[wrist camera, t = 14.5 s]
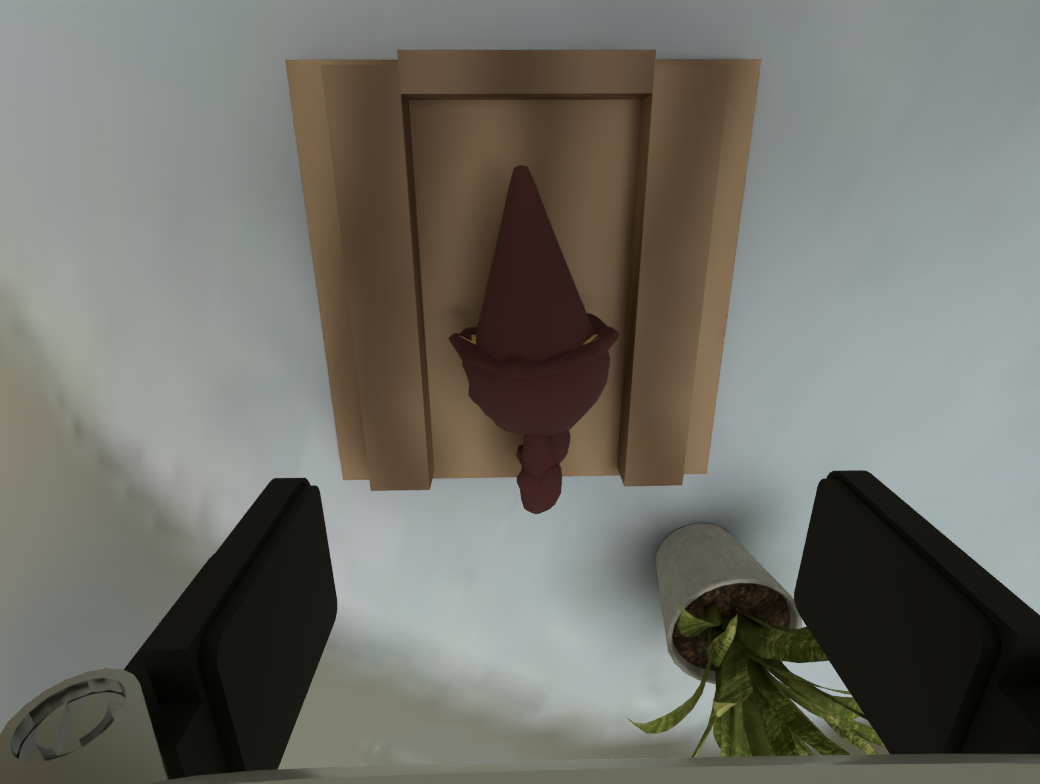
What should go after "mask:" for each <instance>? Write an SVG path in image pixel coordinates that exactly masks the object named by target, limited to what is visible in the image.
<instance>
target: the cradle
mask: <svg viewBox="0 0 1040 784" xmlns="http://www.w3.org/2000/svg"><path fill="white" fill-rule="evenodd" d="M655 55H656V50H398V60H286V68H287V75H288V82H289V90H290V97H291V104H292V111H293V119H294V126H295V133H296V141H297V148H298V155H299V163H300V170H301V177H302V184H303V192H304V199H305V206H306V214H307V221H308V228H309V235H310V243H311V250H312V257H313V265H314V272H315V279H316V286H317V294H318V301H319V308H320V316H321V323H322V330H323V337H324V345H325V352H326V359H327V367H328V374H329V381H330V388H331V396H332V403H333V410H334V418H335V425H336V432H337V440H338V447H339V454H340V461H341V469H342V476H343V480H370V488H371V491H384V490H430V487H431V482H432V478H487V477H517V476H518V475H519V473H520V472H521V469H522V465H521V464H520V462H519V460H518V459H517V457H516V454H517V450H518V446H519V445H523V442H524V435H519V434H516V433H512V432H507V431H505V430H503V429H501V428H500V427H498V426H496V424H495V423H494V421H493V420H492V419H490V418H489V417H488V416H486V415H485V414H484V412H483V411H482V410H481V408H480V407H479V406H478V405H477V404H475V403H474V402H473V401H472V400H471V398H470V397H469V396H468V390H469V382H468V379H467V375H466V373H465V370H464V368H463V366H462V360H461V358H460V356H459V354H458V353H457V351H456V350H455V348H454V347H453V346H452V344H451V343H450V341H449V339H448V338H449V337H450V336H451V335H452V334H453V333H459V334H460V333H461V332H462V331H463V330H464V329H465V328H469V327H478V322H479V318H480V313H481V309H482V304H483V300H484V296H485V291H486V287H487V282H488V278H489V274H490V269H491V265H492V260H493V256H494V251H495V247H496V243H497V238H498V234H499V229H500V225H501V220H502V216H503V211H504V207H505V202H506V197H507V193H508V188H509V184H510V180H511V176H512V172H513V169H514V167H517V166H519V165H523V166H528V168H529V170H530V173H531V175H532V177H533V180H534V182H535V184H536V187H537V189H538V192H539V195H540V197H541V200H542V202H543V205H544V208H545V210H546V213H547V215H548V218H549V221H550V223H551V226H552V228H553V231H554V233H555V236H556V238H557V241H558V243H559V246H560V248H561V251H562V253H563V256H564V258H565V261H566V263H567V266H568V268H569V271H570V273H571V276H572V278H573V280H574V283H575V285H576V288H577V290H578V293H579V295H580V298H581V300H582V303H583V305H584V308H585V310H586V313H590V314H593V315H595V316H597V317H598V318H599V319H601V320H602V321H603V322H604V323H605V324H606V325H607V326H608V327H612V328H614V329H615V330H617V331H618V332H619V334H620V335H619V339H618V340H617V341H616V342H615V343H614V344H613V346H612V347H611V348H610V349H609V350H608V352H609V355H610V366H609V373H608V380H607V383H606V385H605V387H604V389H603V391H602V393H601V395H600V397H599V399H598V400H597V402H596V403H595V404H594V405H593V406H592V407H591V408H590V410H589V411H588V412H587V413H586V414H585V415H584V416H583V417H582V418H581V419H580V420H579V421H578V422H577V423H576V424H575V425H574V426H573V427H572V428H571V429H569V432H570V437H571V438H570V444H569V449H568V454H567V455H566V457H565V458H564V460H563V461H562V462H561V463H560V464H559V465H560V466H561V471H562V476H603V475H620V476H621V479H622V481H623V484H624V486H666V485H682V482H683V474H706V473H707V466H708V458H709V451H710V443H711V435H712V428H713V420H714V413H715V405H716V398H717V390H718V383H719V375H720V367H721V360H722V352H723V345H724V337H725V330H726V322H727V314H728V307H729V299H730V292H731V284H732V277H733V269H734V262H735V254H736V246H737V239H738V231H739V224H740V216H741V209H742V201H743V193H744V186H745V178H746V171H747V163H748V156H749V148H750V141H751V133H752V125H753V118H754V110H755V103H756V95H757V88H758V80H759V73H760V65H761V59H738V60H655Z"/></svg>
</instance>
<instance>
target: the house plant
mask: <svg viewBox="0 0 1040 784" xmlns="http://www.w3.org/2000/svg"><path fill="white" fill-rule="evenodd" d="M655 563H656V570H657V576H658V583H659V590H660V597H661V604H662V611H663V618H664V625H665V632H666V639H667V646H668V652H669V654H670V656H671V657H672V659H673V661H674V663H675V664H676V665H677V666H678V667H679V668H680V669H681V670H682V671H683V672H685V673H686V674H688V675H690V676H692V677H694V678H696V679H698V680H701V684H700V686H699V687H698V689H697V690H696V692H695V693H694V695H693V696H692V697H691V698H690V699H689V700H687V701H686V702H685V703H684V704H683V705H681V706H680V707H678V708H677V709H675V710H674V711H672V712H670V713H669V714H667V715H665V716H663V717H661V718H658V719H656V720H654V721H651V722H649V723H646V724H642V723H633V722H632V721H631V720H630V721H631V722H632V723H633V724H634V725H635V726H637V727H638V728H640V729H641V730H643V731H644V732H646V733H661V732H665V731H667V730H669V729H671V728H672V727H674V726H675V725H677V724H678V723H679V722H680V721H681V720H682V719H683V718H684V717H685V716H686V715H687V714H688V713H689V712H690V711H691V710H692V709H693V708H694V706H695V705H696V703H697V701H698V700H699V698H700V696H701V695H702V693H703V689H704V686H705V683H706V682H709V683H713V684H716V692H715V697H714V699H713V707H712V712H711V716H710V719H709V723H708V726H707V728H706V730H705V732H704V734H703V736H702V738H701V740H700V742H699V744H698V746H697V748H696V750H695V752H694V754H693V756H692V758H696V756H697V754H698V752H699V750H700V748H701V746H702V745H703V743H704V741H705V739H706V738H707V736H708V734H709V732H710V730H711V728H712V726H713V724H714V728H713V733H714V737H715V740H716V742H717V744H718V746H719V747H720V749H721V756H720V757H749V756H800V755H799V752H800V754H801V755H802V756H813V755H814V754H813V753H812V752H811V750H810V749H809V748H808V746H807V745H806V744H805V742H806V743H807V744H809V745H810V746H812V747H813V748H815V749H816V750H817V751H819V752H820V754H821V755H851V754H849V753H848V752H847V751H845V750H844V749H842V748H841V747H840V746H838V745H837V744H835V743H834V742H833V741H831V740H830V739H828V738H827V737H826V736H825V735H824V734H823V733H822V732H821V731H820V730H819V729H818V728H817V727H816V726H815V725H814V724H813V723H812V722H811V721H810V720H809V718H808V717H807V716H806V715H805V714H804V713H803V712H802V711H801V710H800V709H799V708H798V707H797V706H796V705H795V704H794V703H793V702H792V701H791V700H790V699H792V700H793V701H794V702H796V703H797V704H799V705H800V706H802V707H803V708H805V709H806V710H808V711H809V712H811V713H813V714H815V715H817V716H819V717H821V718H822V719H824V720H825V721H826V722H827V723H828V724H829V725H830V726H831V728H832V729H833V730H834V731H835V732H836V733H837V734H838V735H839V736H840V737H841V738H843V739H844V740H846V741H847V742H849V743H851V744H852V745H854V746H856V747H858V748H860V749H861V750H863V751H864V752H866V753H868V754H869V755H879V754H878V753H877V752H876V751H875V750H874V749H873V748H872V747H871V746H870V745H869V744H868V743H867V742H866V741H865V740H868V741H870V742H873V743H875V744H878V745H881V746H884V744H883V743H882V741H881V739H880V738H879V736H878V735H877V733H876V732H875V730H874V729H873V728H870V727H868V726H866V725H863V724H861V723H859V722H856V721H854V720H853V719H855V718H857V717H859V716H861V717H863V718H865V719H866V720H868V719H867V718H866V716H865V715H864V714H863V712H862V710H861V709H860V707H859V706H858V704H857V703H856V701H855V700H854V698H853V697H839V696H831V695H829V694H827V693H825V692H823V691H821V690H819V689H817V688H816V687H821V686H818V685H816V684H813V683H811V682H809V681H807V680H805V679H803V678H801V677H799V676H797V675H795V674H793V673H791V672H790V671H789V670H788V669H787V668H786V667H785V665H784V664H783V663H782V662H783V661H788V662H796V663H805V662H818V661H829V660H828V658H827V657H826V655H825V653H824V652H823V650H822V649H821V647H820V646H819V644H818V643H817V641H816V640H815V638H814V637H813V635H812V634H811V632H810V630H809V629H808V627H804V628H802V619H801V617H800V615H799V613H798V611H797V609H796V606H795V601H794V599H793V598H792V596H791V595H790V594H789V593H788V592H787V591H786V590H785V589H784V588H783V587H782V586H781V585H780V584H779V583H778V582H777V581H776V580H775V579H774V578H773V577H772V576H771V575H770V574H769V573H768V572H767V571H766V570H765V569H764V568H763V567H762V566H761V565H760V564H759V563H758V562H757V561H756V560H755V559H754V558H753V557H752V556H751V555H750V554H749V552H748V551H747V550H746V549H745V548H744V547H743V546H742V545H741V544H740V543H739V542H738V541H737V540H736V539H735V538H734V537H733V536H732V535H731V534H730V533H729V532H728V531H726V530H725V529H723V528H721V527H720V526H716V525H713V524H708V523H696V524H691V525H687V526H684V527H682V528H679V529H677V530H676V531H674V532H673V533H671V534H670V535H669V536H667V538H666V539H665V540H664V541H663V542H662V543H661V545H660V547H659V549H658V551H657V554H656V560H655ZM769 672H770V673H771V674H773V675H774V676H775V677H776V678H777V679H779V680H780V681H781V682H782V683H784V684H785V685H786V686H785V685H784V684H782V683H781V682H780V681H778V680H777V679H776V678H774V677H773V676H772V675H771V674H770V673H769ZM814 686H816V687H814ZM788 687H789V688H788ZM821 688H824V687H821ZM791 689H792V690H791ZM825 689H828V688H825ZM828 690H832V691H836V692H840V693H844V694H851V693H850V692H849V691H841V690H833V689H828ZM864 739H865V740H864ZM803 740H804V741H805V742H804V741H803ZM884 747H885V746H884ZM798 751H799V752H798Z"/></svg>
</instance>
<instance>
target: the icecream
mask: <svg viewBox="0 0 1040 784" xmlns="http://www.w3.org/2000/svg"><path fill="white" fill-rule="evenodd" d="M619 335H620V334H619V332H618V331H617V330H615V329H614V328H612V327H608V326H607V325H606V324H605V323H604V322H603V321H602V320H601V319H599V318H598V317H597V316H595V315H593V314H590V313H586V310H585V308H584V305H583V303H582V300H581V298H580V295H579V293H578V290H577V288H576V285H575V283H574V280H573V278H572V276H571V273H570V271H569V268H568V266H567V263H566V261H565V258H564V256H563V253H562V251H561V248H560V246H559V243H558V241H557V238H556V236H555V233H554V231H553V228H552V226H551V223H550V221H549V218H548V215H547V213H546V210H545V208H544V205H543V202H542V200H541V197H540V195H539V192H538V189H537V187H536V184H535V182H534V180H533V177H532V175H531V173H530V170H529V168H528V166H523V165H519V166H517V167H514V169H513V172H512V176H511V180H510V184H509V188H508V193H507V197H506V202H505V207H504V211H503V216H502V220H501V225H500V229H499V234H498V238H497V243H496V247H495V251H494V256H493V260H492V265H491V269H490V274H489V278H488V282H487V287H486V291H485V296H484V300H483V304H482V309H481V313H480V318H479V322H478V327H469V328H465V329H464V330H463V331H462V332H461V333H460V334H459V333H453V334H452V335H451V336H450V337H449V338H448V339H449V341H450V343H451V344H452V346H453V347H454V348H455V350H456V351H457V353H458V354H459V356H460V358H461V360H462V366H463V368H464V370H465V373H466V375H467V379H468V382H469V390H468V396H469V397H470V398H471V400H472V401H473V402H474V403H475V404H477V405H478V406H479V407H480V408H481V410H482V411H483V412H484V414H485V415H486V416H488V417H489V418H490V419H492V420H493V421H494V423H495V424H496V426H498V427H500V428H501V429H503V430H505V431H507V432H512V433H516V434H519V435H524V442H523V445H519V446H518V450H517V454H516V457H517V459H518V460H519V462H520V464H521V465H522V469H521V472H520V473H519V475H518V476H517V484H518V486H519V488H520V493H521V500H522V503H523V506H524V509H526V510H527V511H529V512H531V513H534V514H540V513H542V512H544V511H547V510H549V509H550V508H552V507H553V506H554V505H555V503H556V502H557V500H558V498H559V496H560V494H561V485H562V471H561V466H560V465H559V464H560V463H561V462H562V461H563V460H564V458H565V457H566V455H567V454H568V449H569V444H570V438H571V437H570V432H569V429H571V428H572V427H573V426H574V425H575V424H576V423H577V422H578V421H579V420H580V419H581V418H582V417H583V416H584V415H585V414H586V413H587V412H588V411H589V410H590V408H591V407H592V406H593V405H594V404H595V403H596V402H597V400H598V399H599V397H600V395H601V393H602V391H603V389H604V387H605V385H606V383H607V380H608V373H609V366H610V355H609V352H608V350H609V349H610V348H611V347H612V346H613V344H614V343H615V342H616V341H617V340H618V339H619Z"/></svg>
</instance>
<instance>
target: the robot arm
mask: <svg viewBox="0 0 1040 784" xmlns="http://www.w3.org/2000/svg"><path fill="white" fill-rule="evenodd" d="M794 601H795V606H796V609H797V611H798V613H799V615H800V617H801V618H802V620H803V621H804V623H805V624H806V626H807V627H808V629H809V630H810V632H811V634H812V635H813V637H814V638H815V640H816V641H817V643H818V644H819V646H820V647H821V649H822V650H823V652H824V653H825V655H826V657H827V658H828V660H829V661H830V663H831V664H832V666H833V667H834V669H835V670H836V672H837V673H838V675H839V677H840V678H841V680H842V681H843V683H844V684H845V686H846V687H847V689H848V690H849V692H850V693H851V695H852V696H853V698H854V700H855V701H856V703H857V704H858V706H859V707H860V709H861V710H862V712H863V713H864V715H865V716H866V718H867V719H868V721H869V723H870V724H871V726H872V727H873V729H874V730H875V732H876V733H877V735H878V736H879V738H880V739H881V741H882V743H883V744H884V746H885V747H886V749H887V750H888V752H889V753H890V754H885V755H883V754H881V755H813V756H749V757H699V758H649V759H606V760H604V759H603V760H557V761H518V762H481V763H444V764H407V765H370V766H348V767H326V768H303V769H281V770H278V767H279V764H280V762H281V759H282V757H283V754H284V751H285V749H286V746H287V744H288V741H289V739H290V736H291V733H292V731H293V728H294V725H295V723H296V720H297V718H298V715H299V713H300V710H301V707H302V705H303V702H304V699H305V697H306V694H307V692H308V689H309V687H310V684H311V682H312V679H313V676H314V674H315V671H316V669H317V666H318V664H319V661H320V658H321V656H322V653H323V651H324V648H325V645H326V643H327V640H328V638H329V635H330V632H331V630H332V627H333V625H334V622H335V619H336V614H337V597H336V590H335V584H334V578H333V571H332V565H331V559H330V552H329V546H328V540H327V533H326V527H325V521H324V514H323V508H322V502H321V496H320V491H319V488H318V487H317V486H310V483H309V481H308V480H307V479H306V478H275V479H272V480H271V481H270V482H269V484H268V485H267V486H266V488H265V489H264V490H263V492H262V493H261V494H260V495H259V497H258V498H257V499H256V501H255V502H254V503H253V505H252V506H251V507H250V509H249V510H248V511H247V512H246V514H245V515H244V516H243V518H242V519H241V520H240V522H239V523H238V524H237V525H236V527H235V528H234V529H233V531H232V532H231V533H230V535H229V536H228V537H227V539H226V540H225V541H224V542H223V544H222V545H221V546H220V548H219V549H218V550H217V552H216V553H215V554H214V555H213V556H212V557H211V558H209V560H208V561H207V562H206V564H205V565H204V566H203V567H202V569H201V570H200V571H199V573H198V574H197V575H196V577H195V578H194V579H193V581H192V582H191V583H190V584H189V586H188V587H187V588H186V590H185V591H184V592H183V593H182V595H181V596H180V597H179V599H178V600H177V601H176V603H175V604H174V605H173V606H172V608H171V609H170V610H169V612H168V613H167V615H165V617H164V618H163V619H162V621H161V622H160V623H159V625H158V626H157V627H156V628H155V630H154V631H153V632H152V634H151V635H150V636H149V638H148V639H147V640H146V641H145V643H144V644H143V645H142V647H141V648H140V649H139V651H138V652H137V653H136V654H135V656H134V657H133V658H132V660H131V661H130V662H129V664H128V665H127V666H126V668H125V669H124V670H122V669H108V668H106V669H100V670H95V671H89V672H85V673H82V674H80V675H77V676H74V677H72V678H69V679H66V680H64V681H62V682H60V683H58V684H57V685H55V686H53V687H51V688H49V689H47V690H45V691H44V692H42V693H41V694H40V695H38V696H37V697H35V698H34V699H33V700H32V701H30V702H29V703H27V704H26V705H25V706H23V708H21V709H20V711H18V712H17V714H15V715H14V717H12V718H11V720H9V721H8V723H7V724H6V726H5V727H4V729H3V730H2V732H1V733H0V784H1040V615H1039V614H1037V613H1036V612H1035V611H1034V610H1033V609H1031V608H1030V607H1029V606H1028V605H1027V604H1026V603H1024V602H1023V601H1022V600H1021V599H1020V598H1018V597H1017V596H1016V595H1015V594H1014V593H1012V592H1011V591H1010V590H1009V589H1008V588H1006V587H1005V586H1004V585H1003V584H1002V583H1001V582H999V581H998V580H997V579H996V578H995V577H993V576H992V575H991V574H990V573H989V572H987V571H986V570H985V569H984V568H983V567H981V566H980V565H979V564H978V563H977V562H976V561H974V560H973V559H972V558H971V557H970V556H968V555H967V554H966V553H965V552H964V551H962V550H961V549H960V548H959V547H958V546H957V545H955V544H954V543H953V542H952V541H951V540H949V539H948V538H947V537H946V536H945V535H943V534H942V533H941V532H940V531H939V530H937V529H936V528H935V527H934V526H933V525H932V524H930V523H929V522H928V521H927V520H926V519H924V518H923V517H922V516H921V515H920V514H918V513H917V512H916V511H915V510H914V509H912V508H911V507H910V506H909V505H908V504H907V503H905V502H904V501H903V500H902V499H901V498H899V497H898V496H897V495H896V494H895V493H893V492H892V491H891V490H890V489H889V488H887V487H886V486H885V485H884V484H883V483H882V482H880V481H879V480H878V479H877V478H876V477H874V476H873V475H872V474H871V473H869V472H867V471H862V470H860V471H832V472H830V473H829V475H828V476H827V478H826V479H822V480H821V481H820V482H819V484H818V487H817V492H816V496H815V501H814V505H813V510H812V514H811V519H810V523H809V528H808V533H807V537H806V542H805V546H804V551H803V555H802V560H801V564H800V569H799V573H798V578H797V582H796V587H795V592H794Z"/></svg>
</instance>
